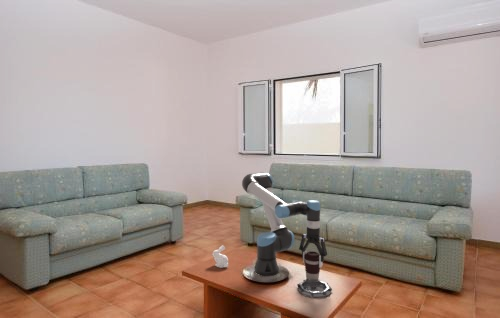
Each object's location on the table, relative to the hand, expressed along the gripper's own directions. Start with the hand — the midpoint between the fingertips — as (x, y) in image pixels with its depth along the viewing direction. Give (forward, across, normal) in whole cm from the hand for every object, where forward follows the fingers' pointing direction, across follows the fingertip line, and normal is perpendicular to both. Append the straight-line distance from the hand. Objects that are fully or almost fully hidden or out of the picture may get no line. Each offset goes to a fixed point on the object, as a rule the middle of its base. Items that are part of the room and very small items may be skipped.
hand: (312, 264), depth 188 cm
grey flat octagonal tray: (+9, +7, -11) cm, 16 cm away
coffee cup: (+8, 0, 0) cm, 8 cm away
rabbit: (+10, -56, -20) cm, 61 cm away
